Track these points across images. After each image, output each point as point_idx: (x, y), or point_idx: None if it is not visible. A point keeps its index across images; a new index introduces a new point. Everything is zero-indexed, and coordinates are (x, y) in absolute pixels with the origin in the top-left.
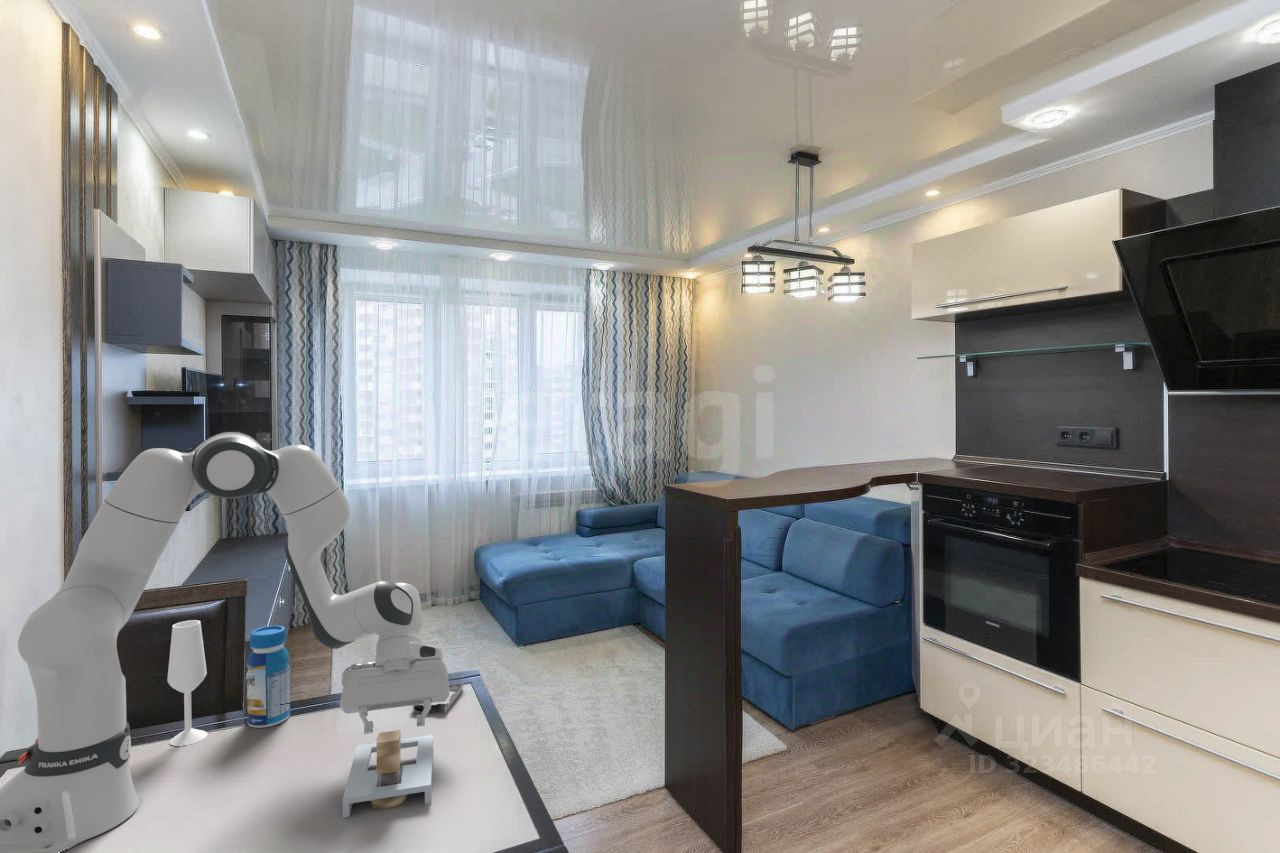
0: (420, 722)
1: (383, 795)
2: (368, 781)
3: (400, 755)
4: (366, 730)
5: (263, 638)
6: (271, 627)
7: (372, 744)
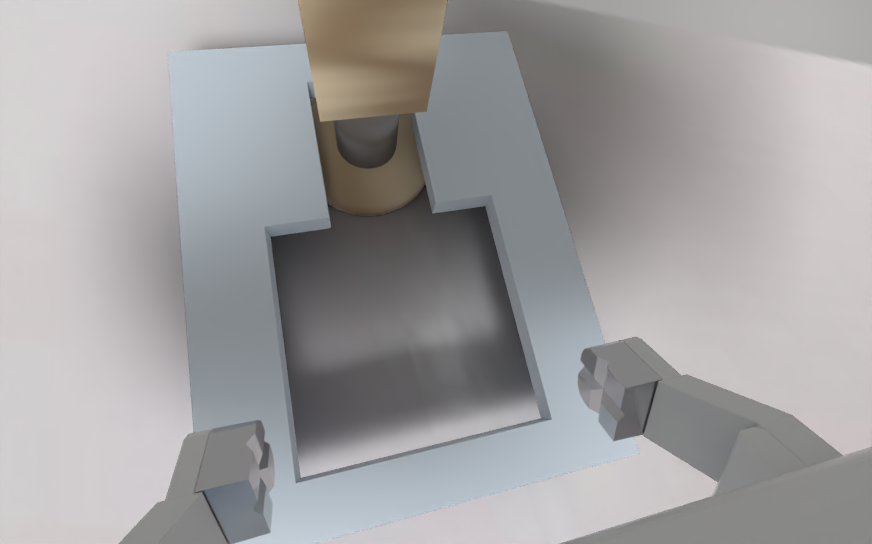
0: (223, 428)
1: None
2: (452, 117)
3: (316, 99)
4: (620, 341)
5: None
6: None
7: (561, 456)
